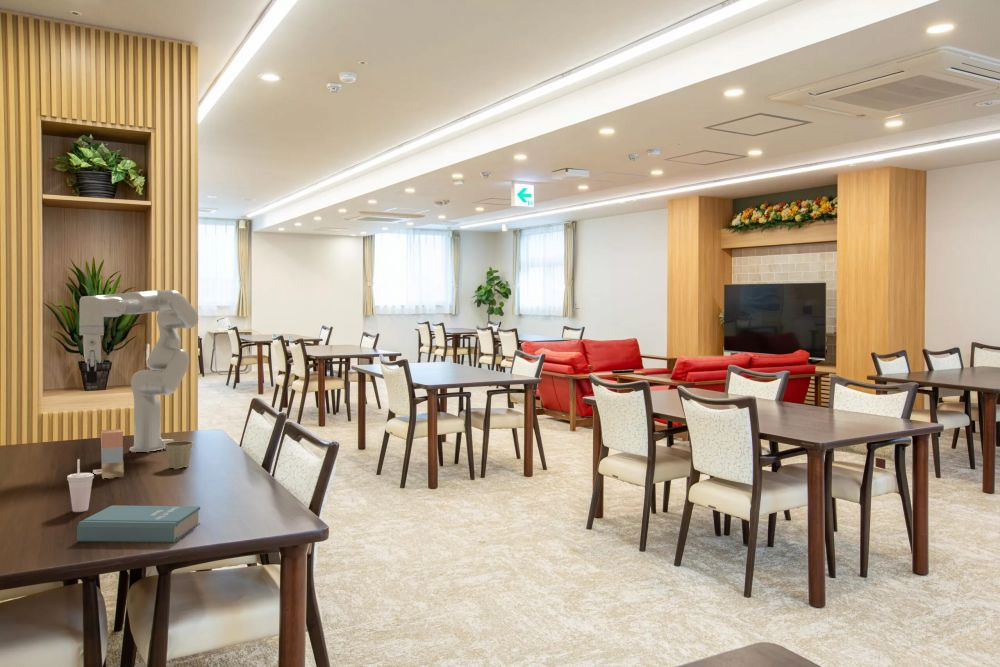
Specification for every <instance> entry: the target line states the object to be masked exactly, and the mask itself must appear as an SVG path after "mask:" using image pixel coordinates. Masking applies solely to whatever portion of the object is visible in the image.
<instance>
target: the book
mask: <svg viewBox="0 0 1000 667" xmlns="http://www.w3.org/2000/svg"><path fill="white" fill-rule="evenodd" d="M200 510H201V506H196V505H195V506H193V505H191V506H189V505H187V506H185V505H177V506H176V505H173V506H172V505H116V504H115V505H110V506H108V507H106V508H104V509H102V510H100V511H98V512H97V513H95V514H92V515H90V516H88V517H86V518H84V519H83V520H81V521H78V524H77V526H76V541H77V542H78V543H79V542H83V543H84V542H87V543H90V542H91V543H93V542H94V543H97V542H98V543H168V544H169V543H170V544H171V543H173V544H174V543H176V542H177V541H179V540H180V539H182V537H184V536H186V535H187V534H188V533H189V532H192V530H194V529H195V528H197V527H198V526H199V525H200V524H201V523H200V522H199V511H200Z"/></svg>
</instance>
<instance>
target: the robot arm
mask: <svg viewBox="0 0 1000 667" xmlns="http://www.w3.org/2000/svg"><path fill="white" fill-rule="evenodd" d="M154 312H157V313H156V322H157V325H158V331H159V337H158V340H157V342H156V343H155V345H154V346H153V348H152V350H151V352H150V354H149V355H148V358H147V361H146V363H147V367H148V368H149V369H142V370H138V371H136V372H135V373H133V374H132V376H131V380H130V384H131V389H132V394H133V446H130V447H129V452H130V451H131V453H136V452H147V453H150V452H149V451H156V450H160V449H163V448H165V446H164V444H165V443H168V442H174V441H175V440H174V439H173V438H171V439H169V438H167V439H164V438H162V436H161V434H162V432H161V431H162V430H161V429H162V426H161V425H162V424H161V423H162V421H161V420H162V404H161V401H160V399H159V396H158V395H161V396H168V395H172V394H173V393H175V392H176V391H177V389H178V387H179V385H180V384H181V382H182V380H183V378H184V376H185V374H186V372H187V370H188V368H189V365H190V357H189V354H188V352H187V351H186V350H185V349H183V348H180V347H181V344H182V341H181V340H182V339H181V337H180V334H179V333H178V331H177V329H192V328H194V327H195V326H197V324H199V323H198V322H199V314H198V312H197V310H196V308H195V307H194V306H193V305H192V304H191V303H190V302H189V301H188V299H187V298H186V297H185V296H184V295H183V294H182V293H180V292H179V291H177V290H174V289H153V290H143V291H133V292H129V291H128V292H124V293H123V292H122V293H113V294H112V293H111V294H101V295H99V294H98V295H91V296H90V295H86V296H85V295H84V296H81V297H80V299H79V325H78V326H79V333H78V334H79V336H83V338H82V340H83V344H82V345H83V358H84V362H85V364H86V372H85V373H86V376H85V379H86V380H85V383H86V384H97V382H98V375H97V374H98V371H97V362H98V364H100V363H102V342H101V340H102V339H101V336H104V333H105V331H104V330H105V329H104V324H105V323H104V321H105V320H104V318H106V317H107V318H117V317H121V316H122V315H141V314H147V313H154Z"/></svg>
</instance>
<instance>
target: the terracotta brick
mask: <svg viewBox="0 0 1000 667" xmlns="http://www.w3.org/2000/svg"><path fill="white" fill-rule="evenodd" d="M123 437H124V432H123V430H122V428H120V429H103V430H101V431H100V446H101V447H102V448H115V447H123V445H124V444H123V443H124V441H123V440H124V438H123ZM123 448H124V447H123Z"/></svg>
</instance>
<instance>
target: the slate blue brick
mask: <svg viewBox="0 0 1000 667" xmlns="http://www.w3.org/2000/svg"><path fill="white" fill-rule="evenodd" d="M100 450H101V451H100V453H101V454H100V455H101V456H100V457H101V465H102V464H105V463H118V462H123V463H124V447H115V448H102V447H101V448H100Z"/></svg>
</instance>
